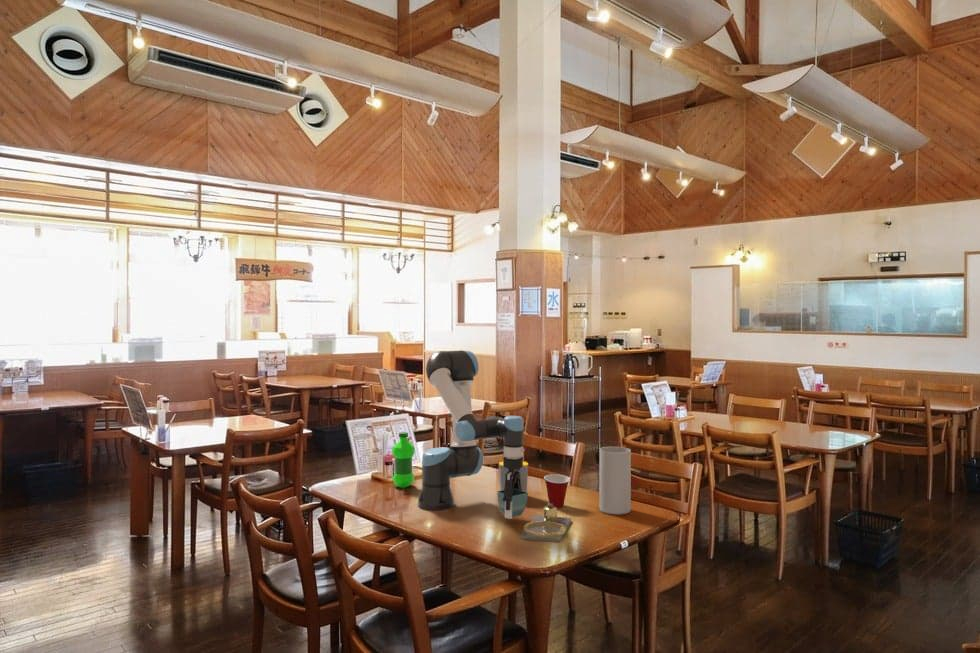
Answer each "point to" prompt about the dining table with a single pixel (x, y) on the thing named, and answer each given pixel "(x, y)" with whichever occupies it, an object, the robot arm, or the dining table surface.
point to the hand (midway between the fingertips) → (512, 513)
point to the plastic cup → (556, 489)
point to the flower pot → (514, 501)
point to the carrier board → (546, 526)
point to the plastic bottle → (403, 461)
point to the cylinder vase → (615, 480)
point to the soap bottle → (523, 476)
